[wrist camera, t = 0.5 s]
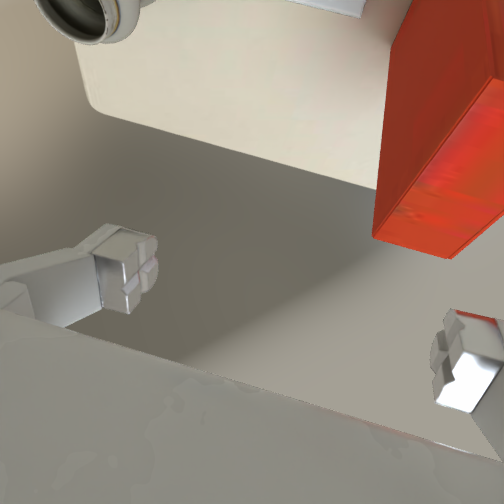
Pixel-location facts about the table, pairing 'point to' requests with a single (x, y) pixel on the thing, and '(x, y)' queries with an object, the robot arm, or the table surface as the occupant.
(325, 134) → the table surface
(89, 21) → the apothecary jar
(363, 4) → the hard drive
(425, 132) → the file binder
